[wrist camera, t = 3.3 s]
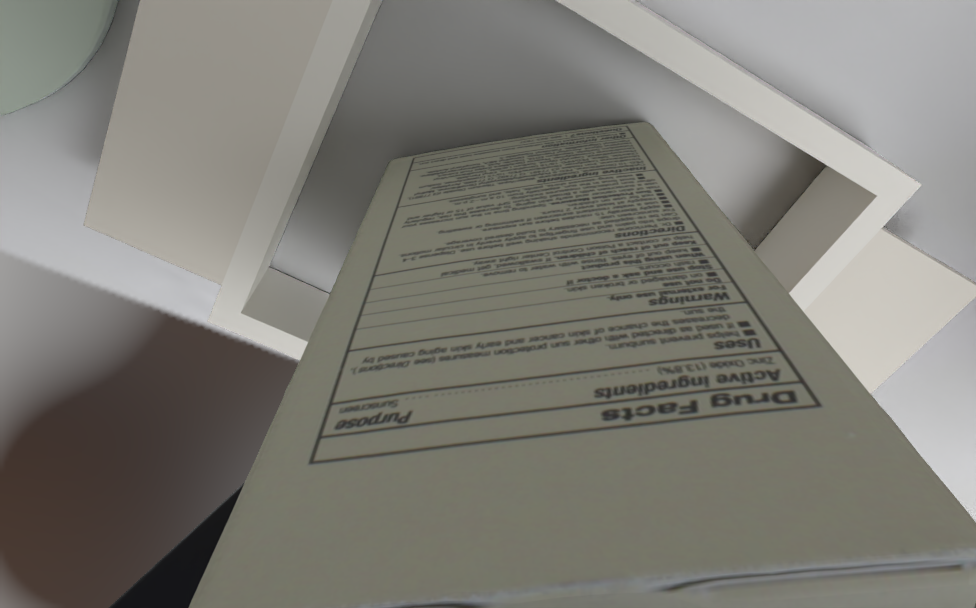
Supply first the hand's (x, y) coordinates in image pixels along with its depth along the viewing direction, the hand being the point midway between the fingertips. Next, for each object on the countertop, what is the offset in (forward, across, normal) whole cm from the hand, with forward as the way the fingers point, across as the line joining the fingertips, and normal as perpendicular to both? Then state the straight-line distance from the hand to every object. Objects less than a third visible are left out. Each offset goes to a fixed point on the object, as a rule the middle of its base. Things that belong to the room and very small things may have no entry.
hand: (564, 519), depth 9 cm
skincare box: (+9, 0, 0) cm, 9 cm away
